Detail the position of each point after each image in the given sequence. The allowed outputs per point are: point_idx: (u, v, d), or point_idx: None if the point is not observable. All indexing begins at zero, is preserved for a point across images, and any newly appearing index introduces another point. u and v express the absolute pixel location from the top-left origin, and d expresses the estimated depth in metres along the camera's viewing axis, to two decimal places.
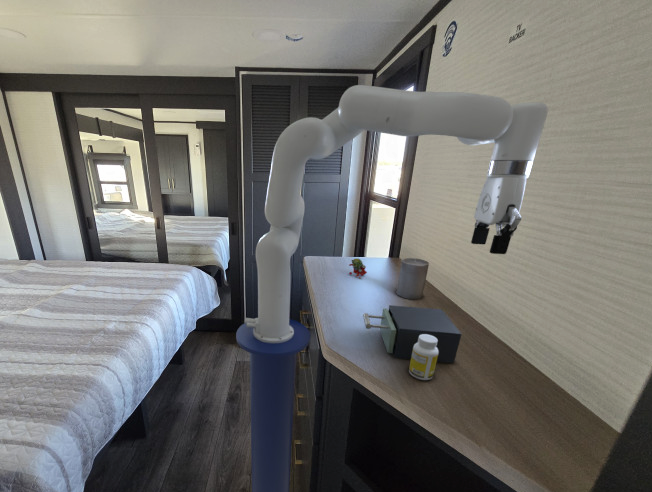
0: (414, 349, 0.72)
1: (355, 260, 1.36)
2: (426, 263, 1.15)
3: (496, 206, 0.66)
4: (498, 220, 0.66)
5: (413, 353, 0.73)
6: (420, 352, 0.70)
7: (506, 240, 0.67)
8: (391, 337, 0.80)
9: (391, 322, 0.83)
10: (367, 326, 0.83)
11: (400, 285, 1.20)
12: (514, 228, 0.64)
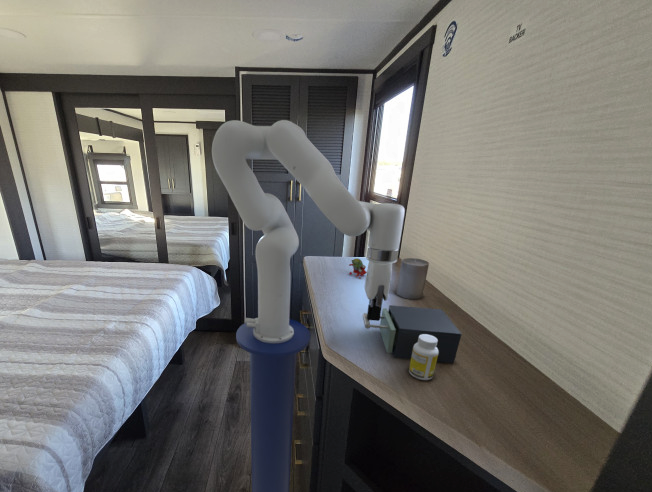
0: (414, 349, 0.72)
1: (355, 260, 1.36)
2: (426, 263, 1.15)
3: (370, 286, 0.78)
4: (372, 297, 0.78)
5: (413, 353, 0.73)
6: (420, 352, 0.70)
7: (377, 311, 0.83)
8: (390, 337, 0.80)
9: (390, 322, 0.83)
10: (366, 326, 0.83)
11: (400, 285, 1.20)
12: None
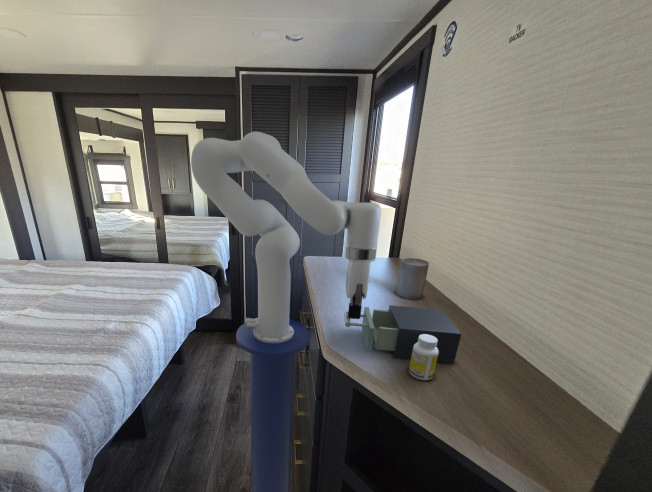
0: (414, 349, 0.72)
1: None
2: (426, 263, 1.15)
3: (349, 284, 0.78)
4: (351, 295, 0.79)
5: (413, 353, 0.73)
6: (420, 352, 0.70)
7: (357, 309, 0.84)
8: (370, 335, 0.80)
9: (370, 320, 0.83)
10: (347, 324, 0.84)
11: (400, 285, 1.20)
12: None
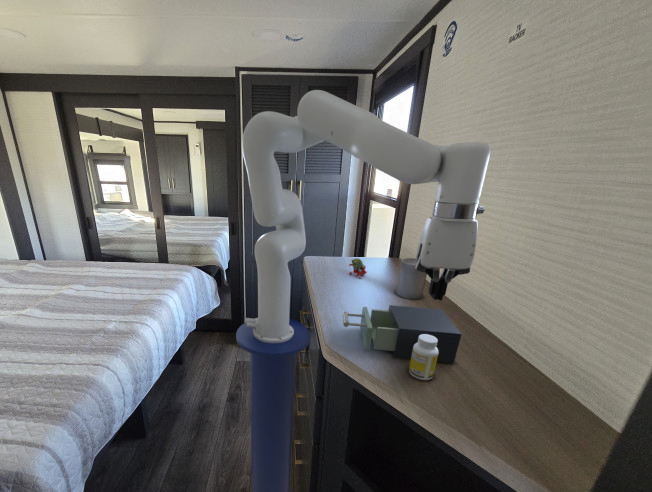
0: (414, 349, 0.72)
1: (355, 260, 1.36)
2: None
3: None
4: (416, 257, 0.67)
5: (413, 353, 0.73)
6: (420, 352, 0.70)
7: (432, 284, 0.67)
8: (368, 335, 0.80)
9: (369, 320, 0.83)
10: (345, 324, 0.84)
11: (400, 285, 1.20)
12: (425, 271, 0.66)
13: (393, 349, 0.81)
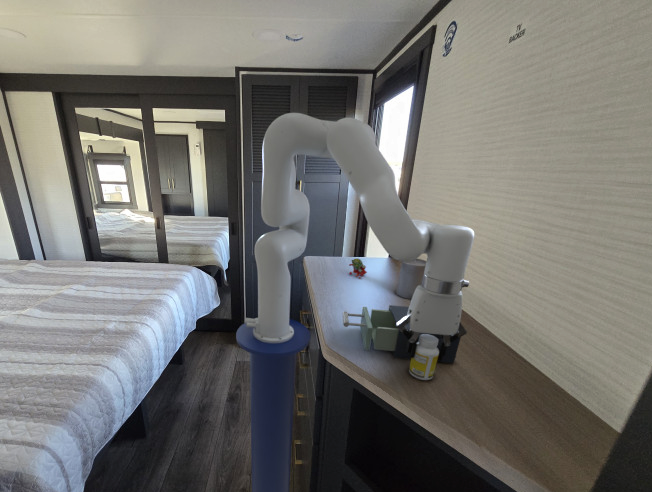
0: None
1: (355, 260, 1.36)
2: None
3: None
4: None
5: None
6: (421, 351, 0.70)
7: (408, 344, 0.72)
8: (368, 335, 0.80)
9: (369, 320, 0.83)
10: (345, 324, 0.84)
11: (400, 285, 1.20)
12: (402, 332, 0.71)
13: (393, 349, 0.81)
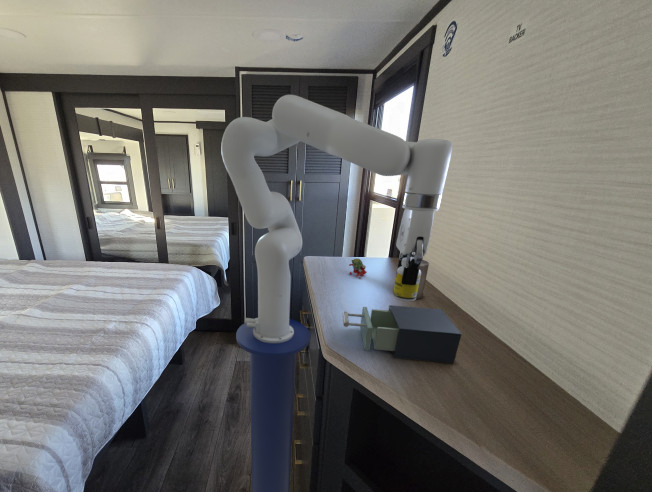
0: None
1: (355, 260, 1.36)
2: (426, 263, 1.15)
3: (407, 238, 0.67)
4: (409, 251, 0.68)
5: None
6: (419, 273, 0.72)
7: (414, 272, 0.70)
8: (368, 335, 0.80)
9: (369, 320, 0.83)
10: (345, 324, 0.84)
11: None
12: (418, 262, 0.67)
13: (393, 349, 0.81)
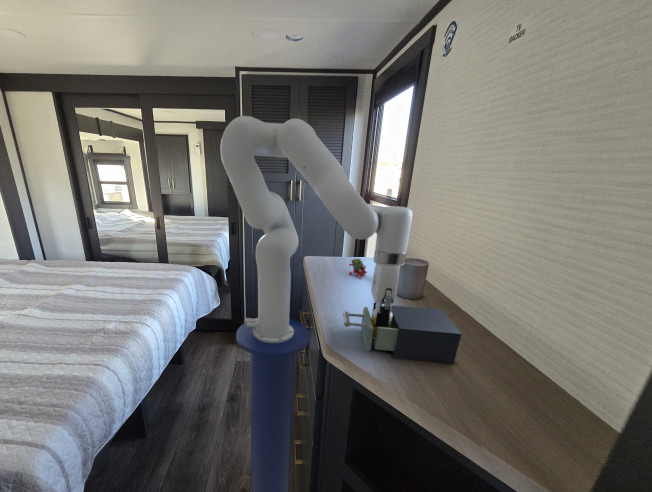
0: None
1: (355, 260, 1.36)
2: (426, 263, 1.15)
3: (377, 289, 0.78)
4: (380, 300, 0.78)
5: None
6: (391, 316, 0.83)
7: (385, 317, 0.81)
8: (369, 335, 0.80)
9: (369, 320, 0.83)
10: (346, 324, 0.84)
11: (400, 285, 1.20)
12: (388, 310, 0.78)
13: (394, 349, 0.81)
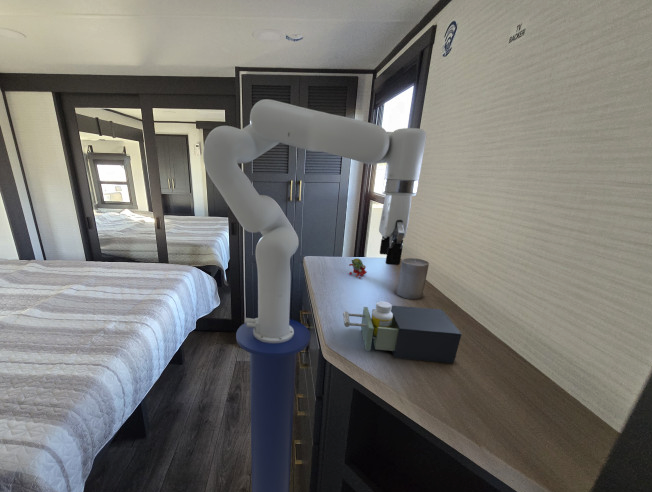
0: (385, 318, 0.82)
1: (355, 260, 1.36)
2: (426, 263, 1.15)
3: (387, 221, 0.72)
4: (389, 234, 0.72)
5: (384, 322, 0.83)
6: (391, 316, 0.83)
7: (397, 252, 0.72)
8: (369, 335, 0.80)
9: (369, 320, 0.83)
10: (346, 324, 0.84)
11: (400, 285, 1.20)
12: (400, 242, 0.70)
13: (394, 349, 0.81)
